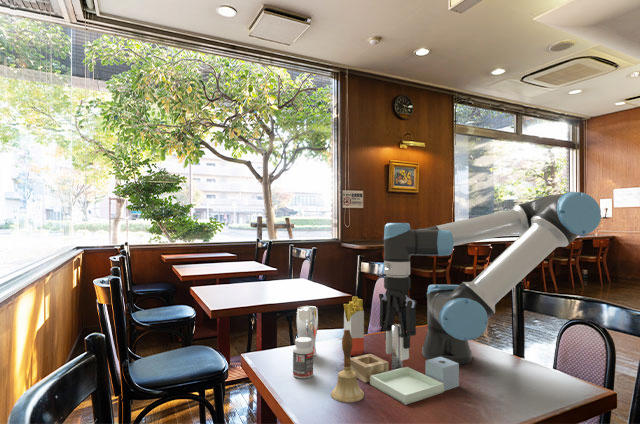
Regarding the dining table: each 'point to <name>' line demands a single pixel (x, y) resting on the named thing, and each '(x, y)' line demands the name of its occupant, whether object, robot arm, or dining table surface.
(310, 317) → the beer glass
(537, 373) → the dining table surface
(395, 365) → the cylinder
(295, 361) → the pill bottle
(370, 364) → the oak block
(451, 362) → the slate-blue block
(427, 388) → the tray
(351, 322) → the french fries container
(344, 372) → the hand bell
